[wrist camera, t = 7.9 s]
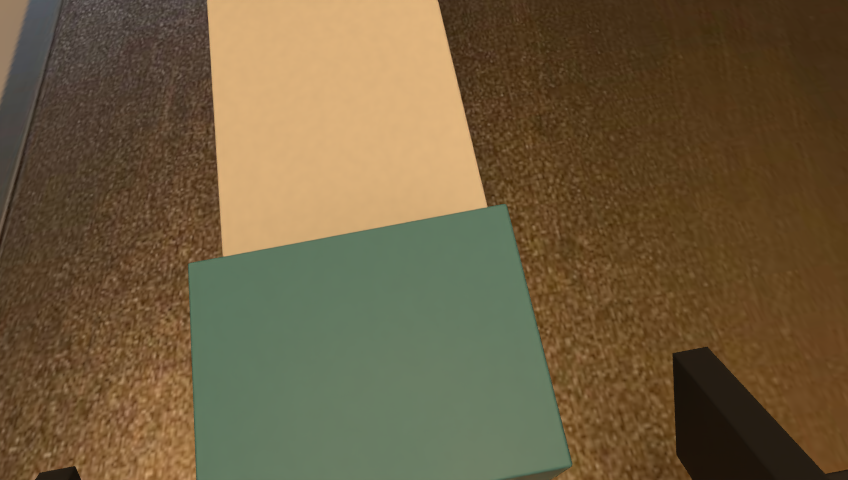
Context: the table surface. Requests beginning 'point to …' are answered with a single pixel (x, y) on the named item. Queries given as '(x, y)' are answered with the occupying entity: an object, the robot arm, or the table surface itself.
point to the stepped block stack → (358, 262)
